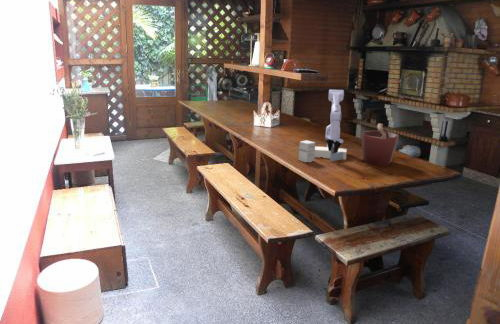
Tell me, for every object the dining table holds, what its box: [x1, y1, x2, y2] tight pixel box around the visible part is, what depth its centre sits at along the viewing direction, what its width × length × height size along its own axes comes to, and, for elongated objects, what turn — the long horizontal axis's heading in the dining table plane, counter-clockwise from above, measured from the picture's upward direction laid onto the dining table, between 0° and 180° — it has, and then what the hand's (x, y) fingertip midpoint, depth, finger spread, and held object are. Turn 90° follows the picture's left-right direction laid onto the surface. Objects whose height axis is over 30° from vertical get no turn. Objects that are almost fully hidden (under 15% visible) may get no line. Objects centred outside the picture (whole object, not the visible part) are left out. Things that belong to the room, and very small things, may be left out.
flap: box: [329, 147, 344, 162], centre depth 264 cm, size 2×10×9 cm, turn 121°
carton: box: [314, 145, 348, 160], centre depth 275 cm, size 10×24×5 cm, turn 78°
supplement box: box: [298, 139, 316, 163], centre depth 262 cm, size 7×7×13 cm
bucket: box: [360, 123, 400, 167], centre depth 261 cm, size 24×22×25 cm
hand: (333, 151), depth 262 cm, fingers open, 5 cm apart
